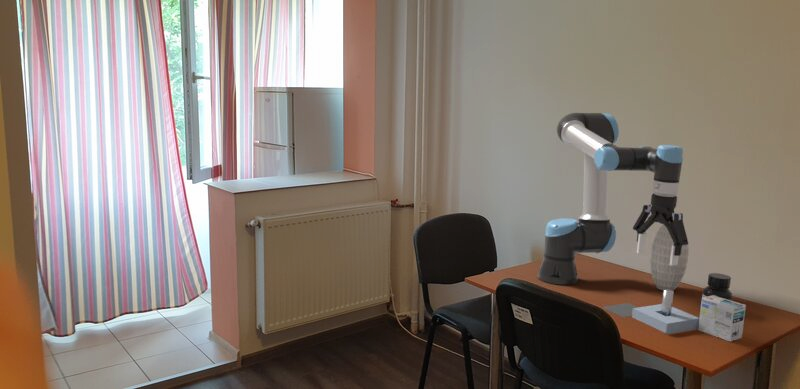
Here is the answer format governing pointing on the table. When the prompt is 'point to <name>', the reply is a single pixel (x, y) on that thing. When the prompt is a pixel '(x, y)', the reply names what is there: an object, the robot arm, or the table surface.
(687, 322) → the socket block
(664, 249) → the vase
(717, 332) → the light bulb box
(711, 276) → the ink bottle
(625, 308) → the mat
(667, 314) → the pin
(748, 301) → the table surface
